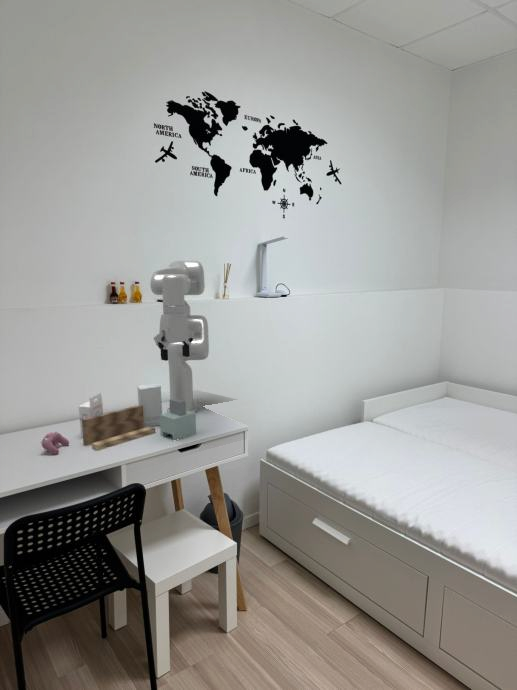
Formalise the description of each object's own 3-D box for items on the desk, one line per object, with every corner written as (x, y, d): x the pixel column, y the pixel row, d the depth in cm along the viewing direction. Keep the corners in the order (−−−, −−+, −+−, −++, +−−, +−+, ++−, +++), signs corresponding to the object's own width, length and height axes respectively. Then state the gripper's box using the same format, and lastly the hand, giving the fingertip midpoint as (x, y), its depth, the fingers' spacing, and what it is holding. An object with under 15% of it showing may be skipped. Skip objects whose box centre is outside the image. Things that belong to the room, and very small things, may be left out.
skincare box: (159, 420, 200) (158, 382, 197) (163, 425, 194) (161, 386, 191) (138, 423, 196) (136, 384, 194) (141, 428, 190) (139, 388, 188)
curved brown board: (141, 427, 191) (140, 404, 189) (155, 432, 185) (154, 409, 184) (83, 444, 173) (81, 419, 172) (96, 450, 167) (95, 424, 166)
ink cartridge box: (92, 429, 189) (90, 392, 186) (104, 430, 188) (102, 392, 185) (80, 437, 180) (77, 397, 178) (92, 438, 179) (90, 398, 177)
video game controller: (59, 449, 173) (49, 431, 172) (71, 443, 173) (60, 426, 172) (47, 459, 164) (36, 441, 163) (59, 454, 163) (48, 435, 162)
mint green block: (182, 429, 189) (181, 395, 187) (196, 433, 183) (195, 399, 181) (160, 436, 181) (159, 401, 179) (174, 440, 176) (173, 405, 174)
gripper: (186, 308, 184) (187, 354, 187) (147, 311, 172) (149, 360, 174) (199, 309, 179) (200, 356, 182) (160, 312, 167) (162, 363, 169)
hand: (175, 358), depth 178 cm, fingers open, 9 cm apart
